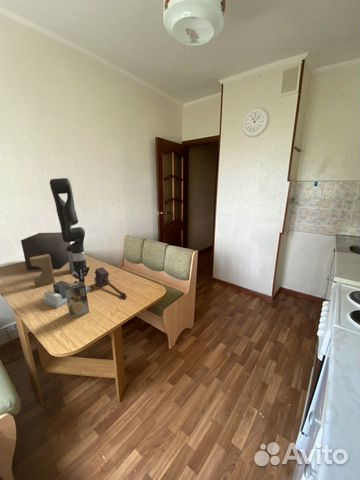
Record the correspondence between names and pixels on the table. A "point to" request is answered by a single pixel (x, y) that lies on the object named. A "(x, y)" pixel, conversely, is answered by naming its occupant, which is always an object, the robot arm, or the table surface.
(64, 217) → the robot arm
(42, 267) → the decorative block
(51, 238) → the dark grey angular block
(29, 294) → the table surface
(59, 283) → the steel block
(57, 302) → the vise base
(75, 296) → the coffee box
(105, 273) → the hammer
